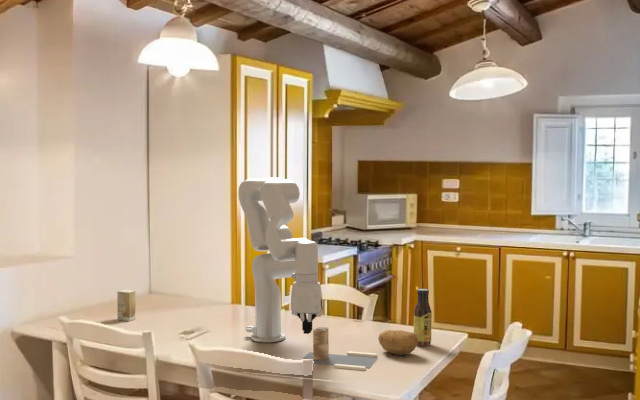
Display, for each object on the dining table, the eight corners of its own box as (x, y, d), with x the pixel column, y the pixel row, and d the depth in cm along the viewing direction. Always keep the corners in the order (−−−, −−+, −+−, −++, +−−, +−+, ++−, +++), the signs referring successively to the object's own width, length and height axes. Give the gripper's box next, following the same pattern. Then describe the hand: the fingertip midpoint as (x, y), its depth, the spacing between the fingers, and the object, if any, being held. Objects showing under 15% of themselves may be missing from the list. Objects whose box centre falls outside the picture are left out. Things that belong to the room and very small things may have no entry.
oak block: (313, 359, 232) (313, 329, 232) (317, 356, 236) (317, 326, 235) (324, 360, 231) (324, 330, 230) (328, 357, 235) (328, 327, 234)
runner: (295, 365, 228) (295, 361, 228) (311, 351, 243) (311, 348, 243) (367, 371, 220) (367, 368, 220) (379, 357, 236) (379, 353, 236)
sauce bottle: (427, 348, 247) (427, 292, 245) (410, 345, 250) (410, 290, 249) (434, 343, 252) (434, 288, 251) (418, 341, 256) (418, 287, 254)
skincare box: (117, 320, 292) (116, 291, 291) (123, 318, 296) (123, 289, 295) (129, 321, 289) (129, 292, 288) (136, 319, 293) (135, 290, 292)
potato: (385, 347, 248) (385, 325, 247) (422, 353, 240) (422, 330, 240) (372, 354, 239) (372, 331, 239) (410, 360, 232) (411, 336, 231)
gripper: (281, 279, 232) (282, 334, 233) (324, 281, 227) (325, 337, 228) (289, 275, 239) (290, 328, 240) (331, 277, 234) (332, 331, 235)
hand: (307, 332), depth 234 cm, fingers closed
